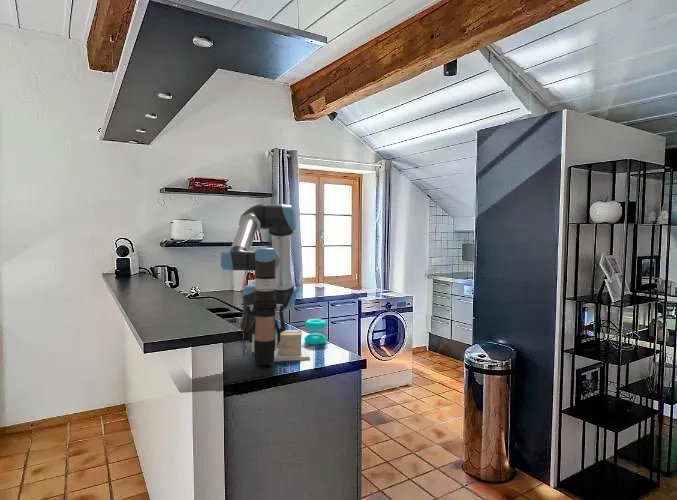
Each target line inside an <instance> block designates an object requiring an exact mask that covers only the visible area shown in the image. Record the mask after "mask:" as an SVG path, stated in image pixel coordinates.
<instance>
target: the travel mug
mask: <svg viewBox="0 0 677 500" xmlns="http://www.w3.org/2000/svg"><path fill="white" fill-rule="evenodd" d="M275 319H276V310H275V309H273V310H256V309H255V329H254V334H255V337H254V352H253V353H254V363H255V364H257V365H271V364H273V363H274V362H275V361H274V352H275V332H276V328H275Z"/></svg>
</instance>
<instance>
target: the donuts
mask: <svg viewBox="0 0 677 500" xmlns="http://www.w3.org/2000/svg"><path fill="white" fill-rule="evenodd" d="M327 325H328V323H327V320H324V319H320V318H310V319H307V320H306V321H304V326H305V327H306V328H307V329H308V330H313V331H317V330H319V331H320V330H323V329H325V328H326V327H327ZM304 342H305V343H306V344H308V345H314V346H315V345H316V346H317V345H324V344H325V343H326V342H327V337H326V336H325V335H324V334H322V333H309V334H307V335H306V336H305V337H304Z"/></svg>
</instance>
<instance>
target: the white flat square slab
mask: <svg viewBox="0 0 677 500" xmlns="http://www.w3.org/2000/svg"><path fill="white" fill-rule="evenodd" d="M310 360H311V356H310V354H309V353H308V351H307V349H306V348H305V347H303V346H301V354H298V355H281V354H280V352H279V347H277V351H275V352H274V362H286V361H287V362H289V361H310Z"/></svg>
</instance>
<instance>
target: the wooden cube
mask: <svg viewBox="0 0 677 500" xmlns="http://www.w3.org/2000/svg"><path fill="white" fill-rule="evenodd" d="M301 347H302V333H301V332H300V330H299V329H290V330H289V329H288V330H287V329H285V331H283V332H281V333H280V342H278V348H279V352H280V354H281V355H298V354H301Z"/></svg>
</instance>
